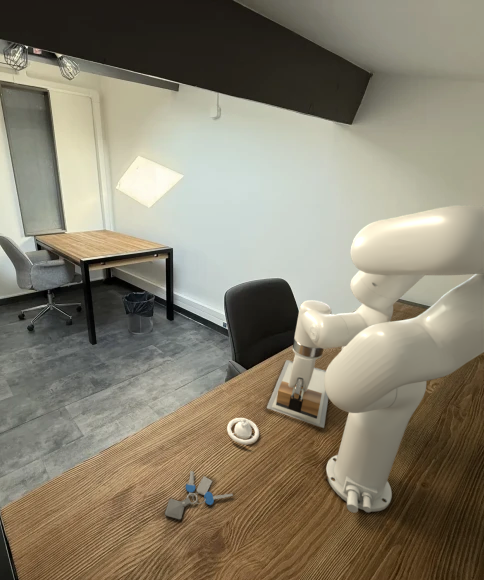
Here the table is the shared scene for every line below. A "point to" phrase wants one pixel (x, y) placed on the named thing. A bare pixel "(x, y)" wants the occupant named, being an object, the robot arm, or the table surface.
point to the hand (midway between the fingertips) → (297, 399)
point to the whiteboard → (314, 385)
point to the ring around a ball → (243, 431)
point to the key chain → (177, 507)
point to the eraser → (309, 398)
